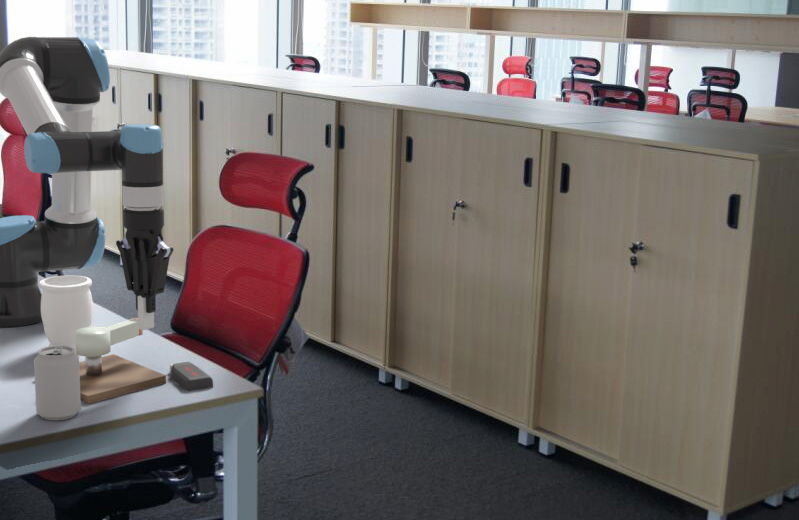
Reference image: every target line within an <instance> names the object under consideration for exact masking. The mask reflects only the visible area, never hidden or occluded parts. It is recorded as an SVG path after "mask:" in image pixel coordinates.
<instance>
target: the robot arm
mask: <svg viewBox="0 0 799 520" xmlns="http://www.w3.org/2000/svg"><path fill="white" fill-rule="evenodd" d="M110 77H111V75H110V67H109V62H108V59H107V55H106V52H105V49H104V47H103V45H102V44H101V43H100V42H99V41H98V40H96V39H93V38H85V37H79V36H75V37H73V36H72V37H71V36H70V37H69V36H67V37H65V36H63V37H62V36H61V37H60V36H59V37H56V36H55V37H48V36H44V37H43V36H41V37H37V36H25V37H21V38H19V39H16V40H13V41H12V42H10V43H8V44H7V45H6V46H5V47H4V48H2V50H1V51H0V94H1V95H2V96H3V97H4V98H5V99H8V101H9V103H10V105H11V107H12V108H13V110H14V112H15V114H16V116H17V118H18V120H19V122H20V124H21V126H22V127H23V129H24V132H25V134H26V137H25V139H24V145H23V150H24V151H23V153H24V159H25V163H26V167H27V169H28V170H29V171H30V172H31V173H34V174H48V175H51V205H50V206H49V207H48V208H47V209H46V210H45V212H44V220H41V221H37V220H36V219H35V217H34V216H33V215H27V214H23V215H10V216H4V217H1V218H0V328H2V327H3V328H4V327H5V328H8V327H10V328H12V327H13V328H14V327H23V326H28V325H34V324H38V323H40V322H43V321H42V317H41V296H42V292H41V291H42V290H41V289H40V285H39V279H38V278H39V277H38V273H39V272H40V273H42V272H53V271H54V272H55V271H63V270H64V271H65V270H81V269H84V268H90V267H95V266H96V265H98V264H99V262H101V260H102V257H103V256H104V252H105V247H106V234H105V233H106V229H105V228H106V227H105V225H104V222H103V220H102V219H100V218H99V217H98V213H97V211H96V210H94V209H93V208H92V206H91V199H92V198H91V196H92V172H103V171H121V180H122V181H121V183H122V185H121V187H122V188H121V189H122V191H121V192H122V194H121V195H122V197H121V198H122V206H124V207H125V208H123V210H122V221H123V225H122V226H123V228H125V229H126V232H125V235H124V236H125V237H123V238H121V239H117V240H116V241H115V245H116V247H117V249H118V251H119V255H120V259H121V264H122V269H123V274H124V280H125V283H126V288H127V290H128V291H132V292H133V294H134V295H135V310H136V311H137V318H138V329H141V330H143V331H146V330H149V329H152V328H155V313H156V308H157V307H156V305H157V304H156V297H157V295H161V294H162V293H164V292H165V288H166V281H167V277H168V275H167V274H168V270H169V264H170V263H169V262H170V258H171V256H172V255H173V252H174V247H173V246H171V245H170V246H168V245H167V244H166V243H165V242H164V237H163V234H162V229H163V228H164V226H165V209H164V208H163V207H162V206H164V154H163V153H164V150H163V149H164V141H163V132H162V128H161V127H160V126H159V125H157V124H150V123H149V124H148V123H130V124H124V125H123V126H122V127H121V129H117V128H115V129H111V130H108V131H107V130H106V131H104V130H103V131H93V115H94V114H93V113H94V112H93V110H94V107H96V106H97V104H99V102H100V101H101V93H105V92H107V91H108V90H109V87H110V85H111V83H110V82H111V81H110V79H111V78H110ZM100 103H101V102H100Z"/></svg>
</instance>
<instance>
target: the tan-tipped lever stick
mask: <svg viewBox="0 0 799 520" xmlns="http://www.w3.org/2000/svg"><path fill="white" fill-rule="evenodd" d="M143 331H144V330H141V329H138V317H132V318H130V319H126V320H123V321H120V322H117V323H114V324H111V325H108V326H105V327H104V326H103V327H102V326H91V327H86V328H81V329H78V330H76V331H75V341H76V354H77V355H78V356H81V357H85V356H86V357H94V356H102V357H103V356H106V355H109V353H111V346H114V345H116V344H119V343H122V342H126V341H127V340H131V339H134V338H136V337H139V336H142V335H143V334H144V333H143Z"/></svg>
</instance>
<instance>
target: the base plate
mask: <svg viewBox="0 0 799 520" xmlns="http://www.w3.org/2000/svg"><path fill="white" fill-rule="evenodd" d="M79 371H80V400H81V402H82V403H83V402H84V403H86V404H87V405H90V404H93V403H97V402H100V401H104V400H107V399H111V398H115V397H118V396H119V397H120V396H122V395H127V394H129V393H130V394H131V393H133V392H138V391H141V390H144V389H148V388H152V387H155V386H159V385H162V384H163V385H164V384H166V383H167V375H166V374H163V373H161V372H159V371H157V370H154V369H151V368H149V367H146V366H144V365H140V364H138V363H136V362H134V361H132V360H128V359H126V358H123V357H122V356H119V355H116V354H114V353H113V354H107V355H103V356H102V374H101V375H99V376H87V375H86V362H85V360H83V361H79Z"/></svg>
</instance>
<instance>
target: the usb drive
mask: <svg viewBox="0 0 799 520" xmlns="http://www.w3.org/2000/svg"><path fill="white" fill-rule="evenodd" d="M169 374H170V378H171V380H173V381H174V382H175V383H177V384H178V385H179V386H180V387H181V388H183V389H184V390H185V391H186V392H193V391H194V392H195V391H197V390H198V391H200V390H205V389H211V387H212V388H214V381H213V378H212V377H211V376H210V375H209V374H208V373H206V372H205V371H204V370H202V369H201V368H199V367H198V366H197V365H195V364H194V363H192V362H190V361H184V362H183V361H182V362H178V363H171V364H169Z"/></svg>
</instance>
